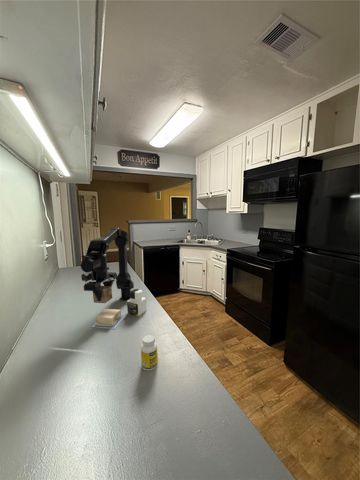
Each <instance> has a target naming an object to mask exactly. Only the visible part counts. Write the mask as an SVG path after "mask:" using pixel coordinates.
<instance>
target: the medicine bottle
mask: <svg viewBox="0 0 360 480" xmlns="http://www.w3.org/2000/svg"><path fill="white" fill-rule="evenodd" d="M147 306H148V305H147V297H143V290H142V289H140V288H133V289H131V292H130V300H126V307H127V309H126V310H127V314H128V315H133V316H136V317H140V316H141V315H142V314H144V313H145V312H147V308H148V307H147Z"/></svg>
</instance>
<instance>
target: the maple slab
mask: <svg viewBox="0 0 360 480" xmlns="http://www.w3.org/2000/svg"><path fill="white" fill-rule="evenodd" d="M121 313H122V311H121V309H115V308H113V309H112V308H104V309H103V310H102V311H101V312H100V313H99V314H98V315H97V316H96V317H95V323H96V322H97V325H98V326H111V327H113V326H114V325H115V324H116V323H117V321H118V320H119V319H120V318H121V315H122V314H121Z"/></svg>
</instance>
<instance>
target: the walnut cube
mask: <svg viewBox="0 0 360 480" xmlns="http://www.w3.org/2000/svg"><path fill="white" fill-rule="evenodd" d="M101 287H103V291H102V297H101V301H98V300H97V298H96V296H95V294H94V293H93V292H92V297H93V303H94V304H95V303H97V304H107V303H109V301H110V300H111V299H112V298H113V292H112V291H113V289H112V287H111V286H104V285H101Z"/></svg>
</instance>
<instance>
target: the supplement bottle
mask: <svg viewBox="0 0 360 480" xmlns="http://www.w3.org/2000/svg"><path fill="white" fill-rule="evenodd" d="M155 340H156V337H155V336H154V335H151V334H148V335H145V336H143V337H142V343H141V345H140V356H141V357H140V360H141V368H142V369H143V370H144V371H153V370H155V369H156V368H157V367H158V364H159V360H158V343H157V342H156V341H155Z"/></svg>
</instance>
